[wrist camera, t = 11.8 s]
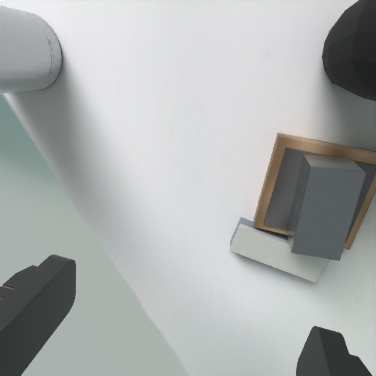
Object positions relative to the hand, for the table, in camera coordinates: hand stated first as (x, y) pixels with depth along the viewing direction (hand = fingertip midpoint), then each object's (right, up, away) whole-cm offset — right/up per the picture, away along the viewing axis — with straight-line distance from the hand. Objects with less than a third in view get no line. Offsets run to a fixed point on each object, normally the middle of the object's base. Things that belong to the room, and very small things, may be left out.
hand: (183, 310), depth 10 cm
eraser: (+13, -4, +32) cm, 35 cm away
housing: (+15, +3, +25) cm, 30 cm away
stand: (+16, +4, +28) cm, 32 cm away
